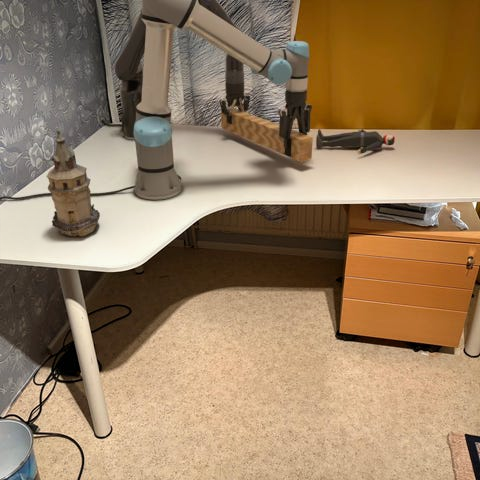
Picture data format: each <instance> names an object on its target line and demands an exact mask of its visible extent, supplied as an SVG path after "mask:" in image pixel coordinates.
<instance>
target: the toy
mask: <svg viewBox="0 0 480 480" xmlns="http://www.w3.org/2000/svg"><path fill="white" fill-rule="evenodd" d="M395 139H396V137H395V136H394V135H392V134H385V135H384V136H382V135H381V134H380V133H379V132H378V131H375V130H374V131H373V130H372V131H366V130H364V129H363V128H358V130H357V131H351V132H343V133H337V134H330V135H324V134H323V133H322V130H321V129H320V128H318V129H317V134H316V139H315V141H316V142H315V144H316V145H315V146H316V148H317V149H321V148H325V147H326V148H336V147H340V148H354V149H355V148H359V147H360V148H359V149H357V151H356V153H357V154H358V155H361V154H364V153H366V152H368V151H372V150H381V149H382V146H383V145H385V146H392V145H394V143H395V142H396V141H395Z"/></svg>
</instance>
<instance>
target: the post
mask: <svg viewBox="0 0 480 480" xmlns="http://www.w3.org/2000/svg"><path fill="white" fill-rule="evenodd" d="M231 115H232V124H228V123H227V115H225V114H223V113H222V110H221V109H220V118H221V120H220V121H221V122H220V123H221V129H223V130H225V131H228V132H230V133H232V134H235V135H237V136H239V137H241V138H244V139H246V140H249V141H251V142H253V143H256V144H258V145H260V146H262V147H264V148H267V149H270V150H272V151H273V152H276V153H279V154H281V155H283V156H286V155H285V147H284V139H283V138H281V137H279V124H278V123H276V122H272V121H270V120H267V119H266V118H265V119H264V118H262V117H260V116H256V115H254V114H251V113H248V112H247V111H245V112H243V111H240V110H239V109H238V108H236V107H234V110H233V111H232V114H231ZM290 139H292V141H291V157H289V158H290V159H293V160H295V161H297V162H300V163H303V162H306V161H310V160H312V159H313V142H314V141H313V140H314V138H313V136H311V135H308V134H307V135H305V134H303V133H300V132H299V131H298V130H294V129H292V131H291V135H290Z"/></svg>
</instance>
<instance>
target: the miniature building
mask: <svg viewBox="0 0 480 480" xmlns="http://www.w3.org/2000/svg"><path fill="white" fill-rule="evenodd" d="M56 134H57V136H56V138H55V140H54V141H55V142H56V147H55V154H54V156H52V157H51V161H52V162H53V165H54V167H53V168H51V169H50V170H49V171H48V173H47V174H46V178H47V179H48V182H49V184H48V186H47V190H48V191H49V193H52V195H51V200H52V201H53V205H54V209H55V211H53V217H52V220H51V223H52V225H51V227H54V228H56V229H58V230H59V231H60V234H63V235H64V234H65V235H66V236H69V237H77V236H80V237H83V236H87V235H88V234H90V233H93V232H94V231H95V229H96V226H97V225H98V223H99V220H100V216H101V213H100V212H99V210H98V209H96V208H95V204H92V201H91V200H92V199H91V198H92V197H91V195H90V193H92V191H91V188H90V184H91V178H89V177H88V174H87V167H85V166H84V165H83V166H82V165H80V164H77V160H76V154H75V151H74V150H70V149H69V147H68V145H67V143H66V138H65V137H64V136H63V135H61V130H60V129H56Z"/></svg>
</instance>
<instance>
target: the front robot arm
mask: <svg viewBox="0 0 480 480" xmlns="http://www.w3.org/2000/svg"><path fill="white" fill-rule="evenodd" d="M141 6H142V7H141V9H142V20H143V22H144V23H145V24H146V38H145V53H144V54H143V56H144V57H143V86H142V101H141V103H139V104H138V105H137V108H136V121H135V125H134V137H135V140H134V143H135V154H136V161H137V175H136V179H135V184H134V185H132V186H127V187H124V188H120V189H118V190H113V191H106V192H90V196H105V195H106V196H107V195H112V194H117V193H121V192H124V191H125V192H126V191H128V190H132V189H134V193H135V195H136V196H137V197H138V198H141V199H143V200H148V201H161V200H168V199H171V198H174V197H176V196H178V195H179V194H180V193H181V192H182V183H181V181H182V177H181V176H180V175H179V174H178V173H177V171H176V169H175V161H174V160H175V159H174V158H175V157H174V147H173V130H172V129H173V128H172V125H171V122H172V121H171V120H172V111H173V110H172V108H171V107H170V106H169V105H168V104H169V103H168V102H169V91H170V81H171V80H170V79H171V68H172V56H173V44H174V32H175V29H176V28H178V29H179V30H185V29H186V30H188V31H190V32H191V33H193V34H195V35H197V36H198V37H199V38H201V39H203V40H204V41H206V42H208V43H209V44H211V45H212V46H214V47H216V48H218V49H219V50H220V51H223V52H224V53H225V54H229V55H230V56H232V57H234V58H235V59H237V60H239V61H240V62H242V63H243V64H244V65H245V66H246V67H248V68H250V71H251V73H252V74H253V75H261V76H262V77H264V78H266V79H267V80H269V82H271V83H272V84H274V85H276V86H282V85H284V86H285V87H284V88H285V89H286V90H284V101H285V106H284V108H283V109H278V116H279V124H278V125H279V137H281V138H283V139H284V147H285V155H284V156H286V157H288V158H290V157H291V141H292V139H290V135H291V131H292V130H293V126H294V121H296V123H297V129H298V132H300V133H303V134H305V135H308V133H310V132H311V115H312V113H311V112H312V109H313V105H312V104H310V103H309V104H308V103H306V102H307V101H308V83H309V82H308V81H309V63H310V61H309V60H310V46H309V43H308V42H306V41H303V40H294V41H293V40H292V41H288V42H287V43H286V46H285V48H279V49H269V48H267V47H266V46H264V45H263V44H262V43H261V42H258V41H257V40H255V39H253V38H252V37H250V36H249V35H247V34H246V33H245V32H244V31H243V32H241V31H240V30H238V29H237V28H235V27H234V26H232V25H230V24H229V23H227V22H226V21H224V20H223V19H221V18H220V17H218V16H217V15H215V14H213V13H212V12H210V11H209V10H207V9H206V8H204V7H203V6H201V5H200V4H199V2H198V0H142V5H141ZM43 196H44V197H45V196H52V193H51V192H44V193H37V194H36V193H35V194H31V195H26V196H25V195H24V196H17V197H15V196H8V195H7V196H6V195H4V196H0V201H1V200H4V199H6V200H15V201H17V200H18V201H19V200H25V199H30V198H37V197H43ZM11 287H12V291H13V293H14V294H15V293H16V292H17V290H16V287H15V284H11Z"/></svg>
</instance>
